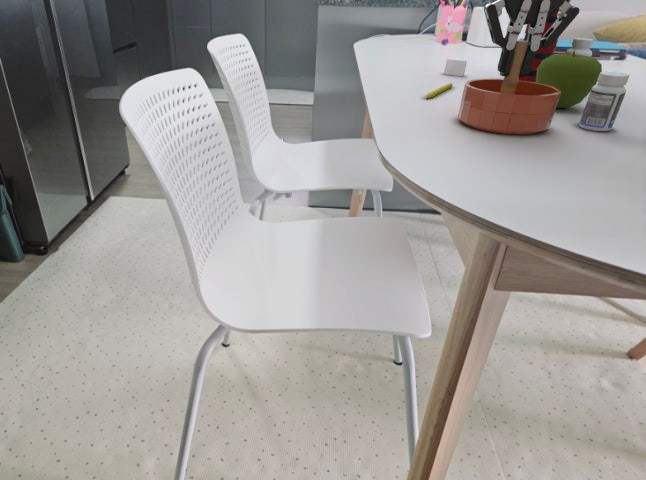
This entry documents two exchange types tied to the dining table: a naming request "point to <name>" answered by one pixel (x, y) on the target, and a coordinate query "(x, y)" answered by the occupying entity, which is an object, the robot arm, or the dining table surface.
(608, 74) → the pill bottle
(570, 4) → the robot arm
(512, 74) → the stirring stick
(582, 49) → the supplement bottle
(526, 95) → the bowl
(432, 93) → the pencil
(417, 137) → the dining table surface
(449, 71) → the eraser
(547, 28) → the red striped curved tube
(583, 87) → the apple
